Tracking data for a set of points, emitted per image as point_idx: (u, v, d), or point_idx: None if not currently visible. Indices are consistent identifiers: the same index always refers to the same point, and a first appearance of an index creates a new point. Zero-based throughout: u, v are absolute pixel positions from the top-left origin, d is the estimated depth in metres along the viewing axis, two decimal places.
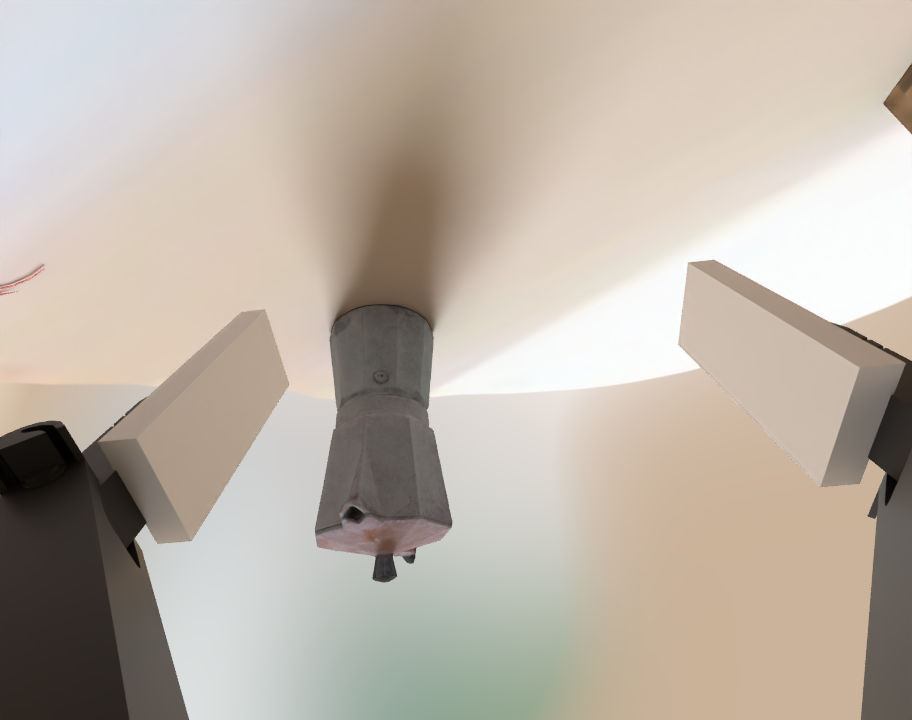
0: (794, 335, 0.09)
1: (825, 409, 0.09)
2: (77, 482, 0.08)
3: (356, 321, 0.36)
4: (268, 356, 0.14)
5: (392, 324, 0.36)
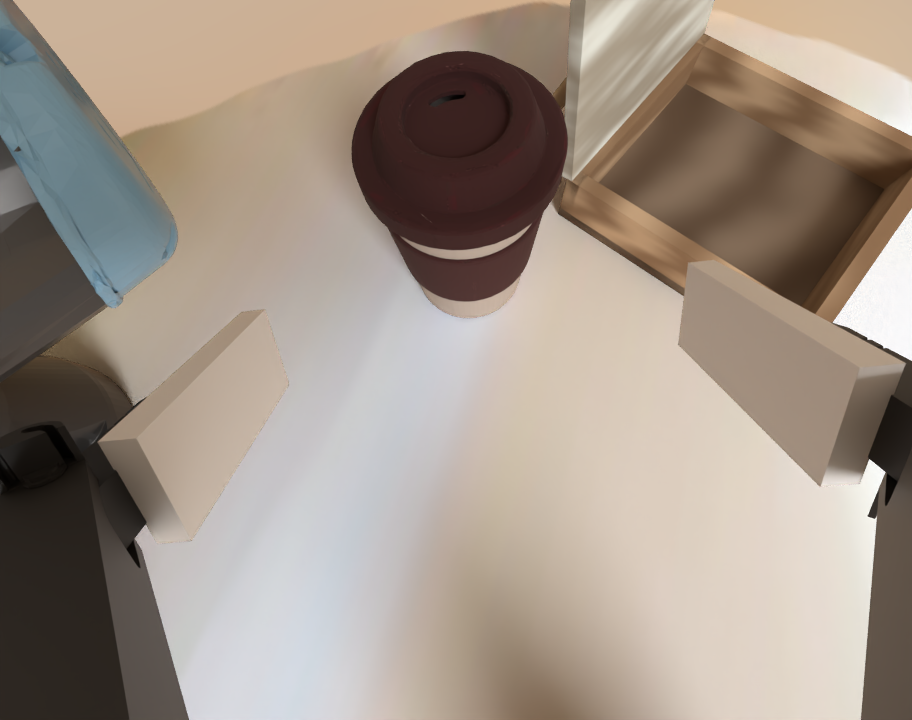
0: (794, 335, 0.09)
1: (825, 409, 0.09)
2: (77, 482, 0.08)
3: None
4: (268, 356, 0.14)
5: None
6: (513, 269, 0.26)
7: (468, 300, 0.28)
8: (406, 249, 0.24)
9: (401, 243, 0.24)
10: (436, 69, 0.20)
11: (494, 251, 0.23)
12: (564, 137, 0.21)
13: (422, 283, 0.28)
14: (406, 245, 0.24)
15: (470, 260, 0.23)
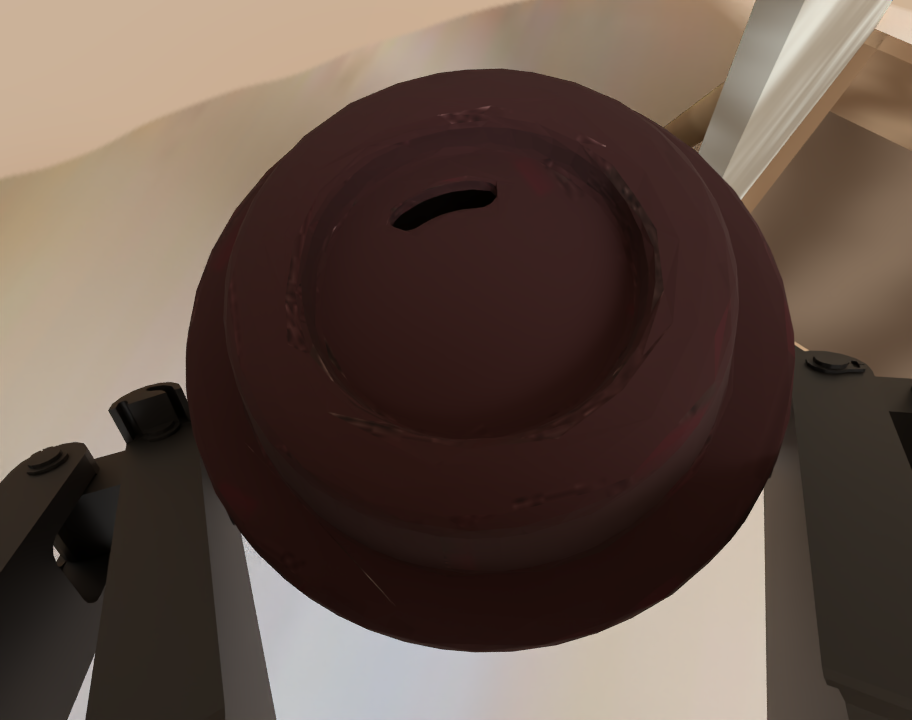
0: None
1: None
2: (188, 440, 0.08)
3: None
4: None
5: None
6: None
7: None
8: None
9: None
10: (411, 123, 0.07)
11: None
12: (784, 313, 0.07)
13: None
14: None
15: None
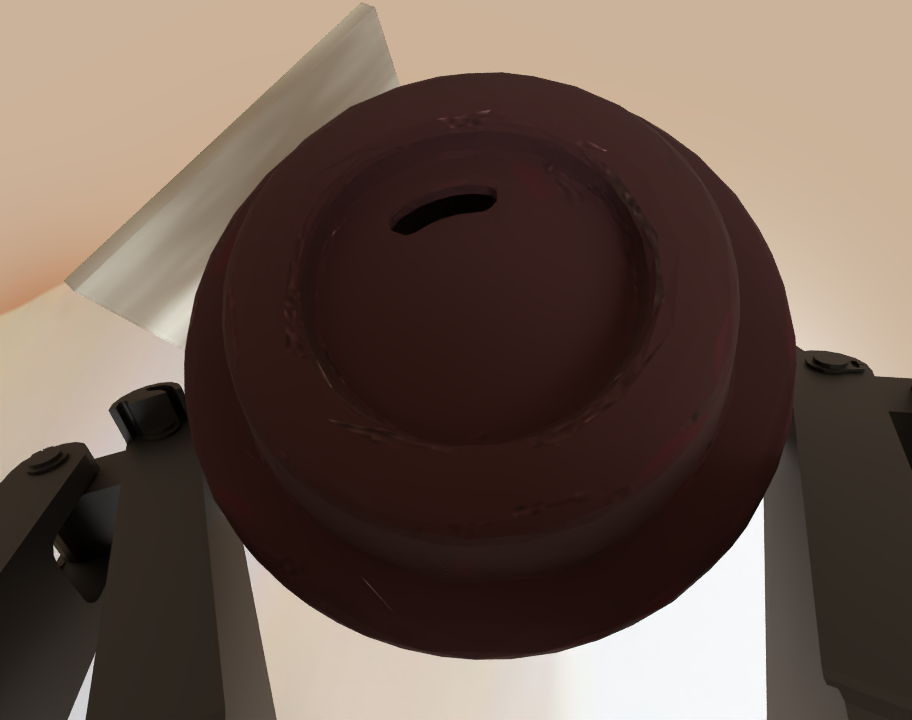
0: None
1: None
2: (188, 440, 0.08)
3: None
4: None
5: None
6: None
7: None
8: None
9: None
10: (410, 127, 0.07)
11: None
12: (786, 317, 0.07)
13: None
14: None
15: None
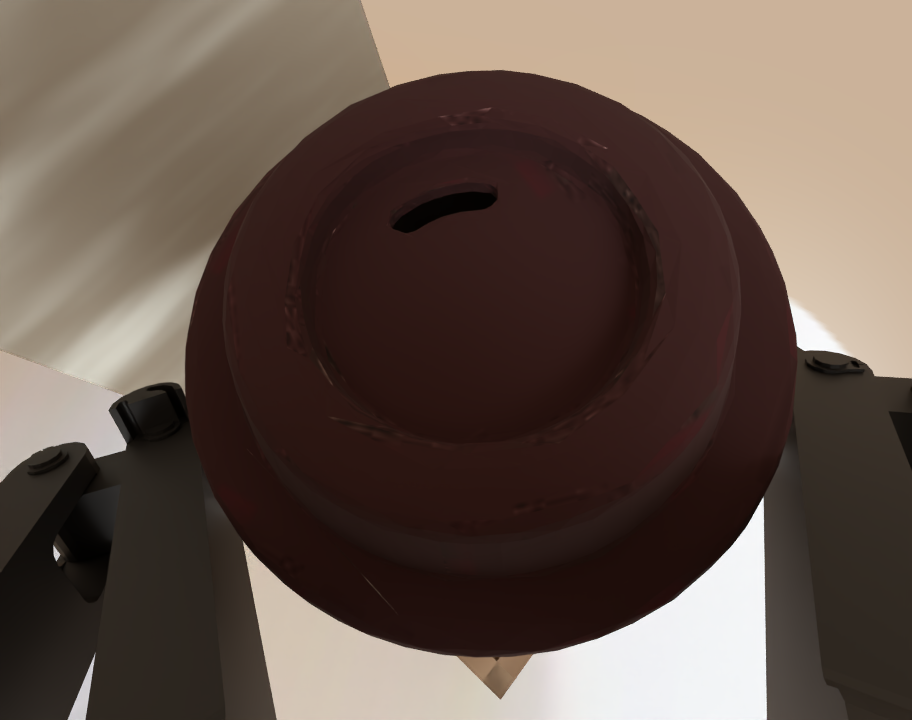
0: None
1: None
2: (188, 440, 0.08)
3: None
4: None
5: None
6: None
7: None
8: None
9: None
10: (411, 125, 0.07)
11: None
12: (787, 315, 0.07)
13: None
14: None
15: None
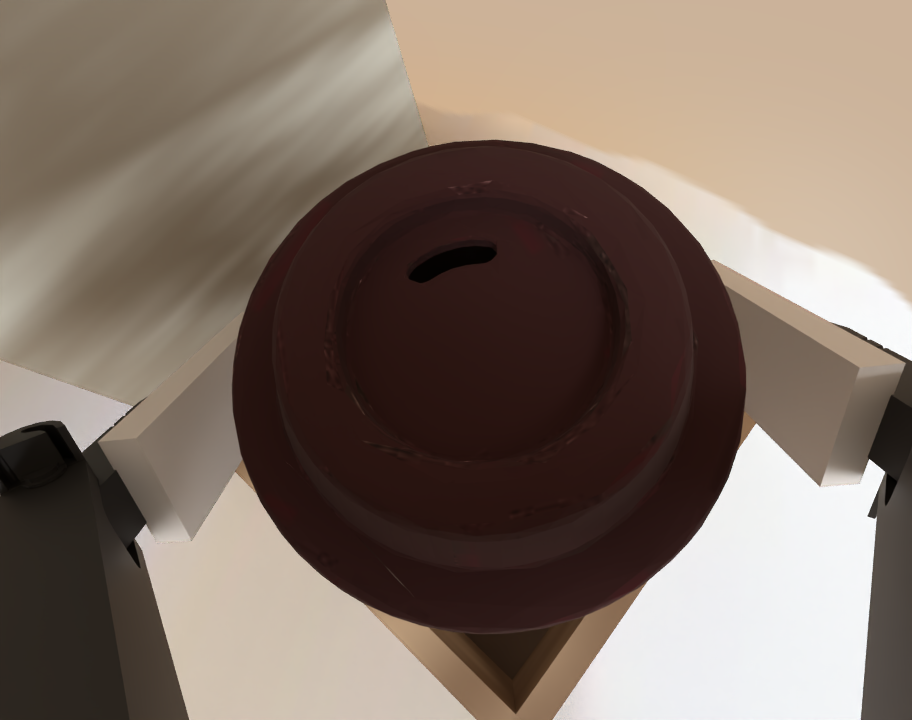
0: (794, 335, 0.09)
1: (825, 409, 0.09)
2: (77, 482, 0.08)
3: None
4: None
5: None
6: None
7: None
8: None
9: None
10: (425, 194, 0.08)
11: None
12: (739, 351, 0.08)
13: None
14: None
15: None
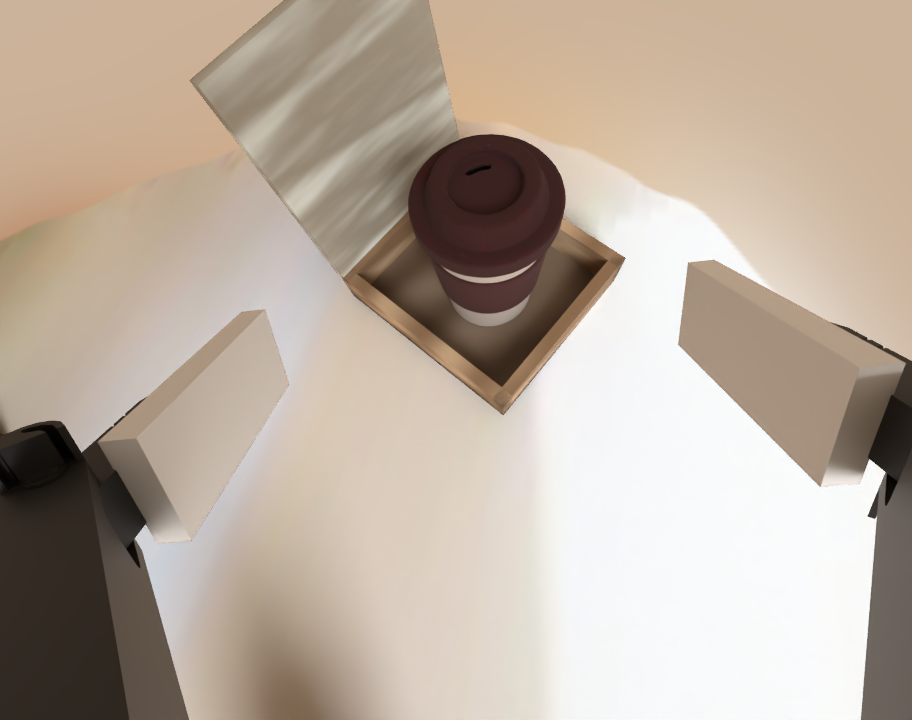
0: (794, 335, 0.09)
1: (825, 409, 0.09)
2: (77, 482, 0.08)
3: None
4: (268, 356, 0.14)
5: None
6: (525, 289, 0.34)
7: (490, 312, 0.36)
8: (445, 275, 0.32)
9: (441, 271, 0.32)
10: (470, 149, 0.28)
11: (512, 277, 0.31)
12: (563, 195, 0.28)
13: (454, 299, 0.36)
14: (445, 272, 0.32)
15: (494, 283, 0.31)
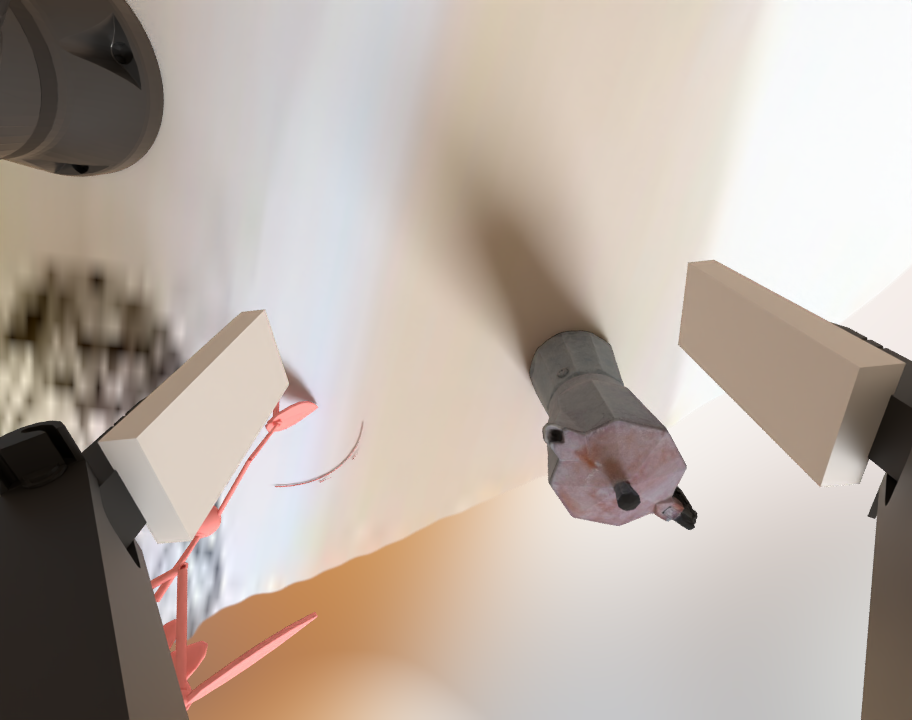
0: (794, 335, 0.09)
1: (825, 409, 0.09)
2: (77, 482, 0.08)
3: (537, 359, 0.46)
4: (268, 356, 0.14)
5: (560, 343, 0.45)
6: None
7: None
8: None
9: None
10: None
11: None
12: None
13: None
14: None
15: None
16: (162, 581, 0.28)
